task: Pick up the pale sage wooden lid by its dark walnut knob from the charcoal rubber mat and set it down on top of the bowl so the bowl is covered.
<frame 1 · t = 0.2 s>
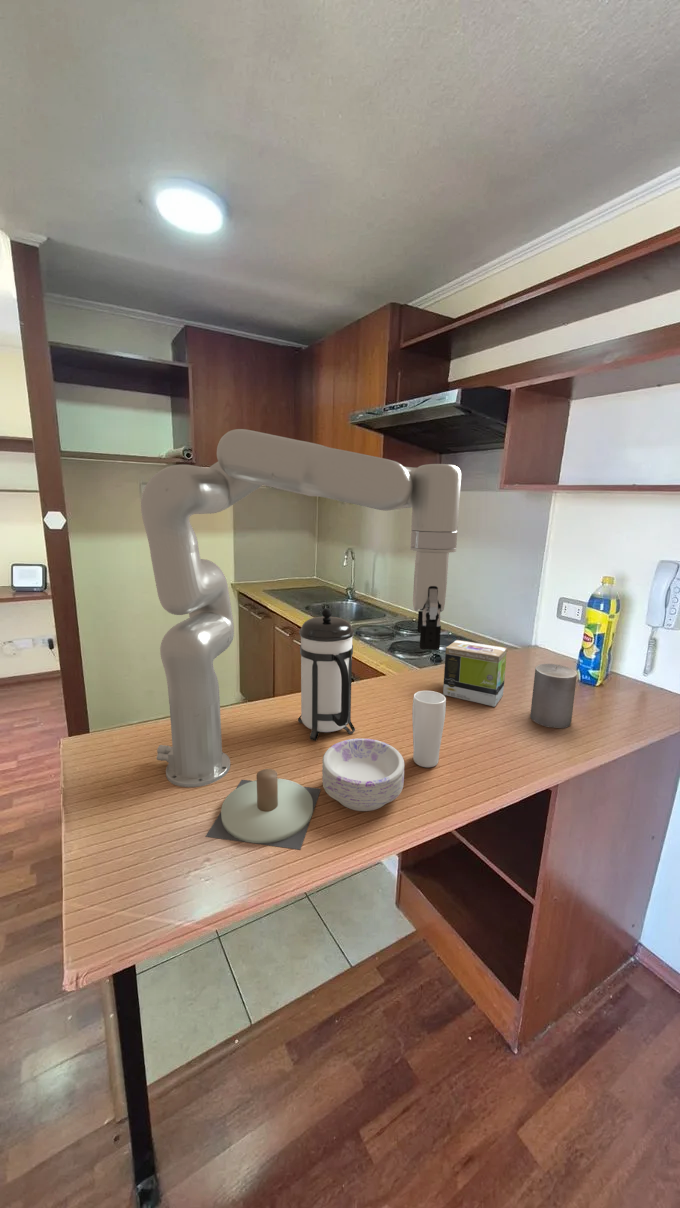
hand: (427, 640, 80), 31 cm above the counter, fingers open, 9 cm apart
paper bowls: (362, 796, 87), on the counter
tea box: (472, 696, 133), on the counter
coffee press: (329, 730, 112), on the counter
drinking glass: (425, 762, 98), on the counter
lid: (267, 810, 82), resting on mat
mat: (267, 812, 82), on the counter
pillar candle: (549, 720, 118), on the counter
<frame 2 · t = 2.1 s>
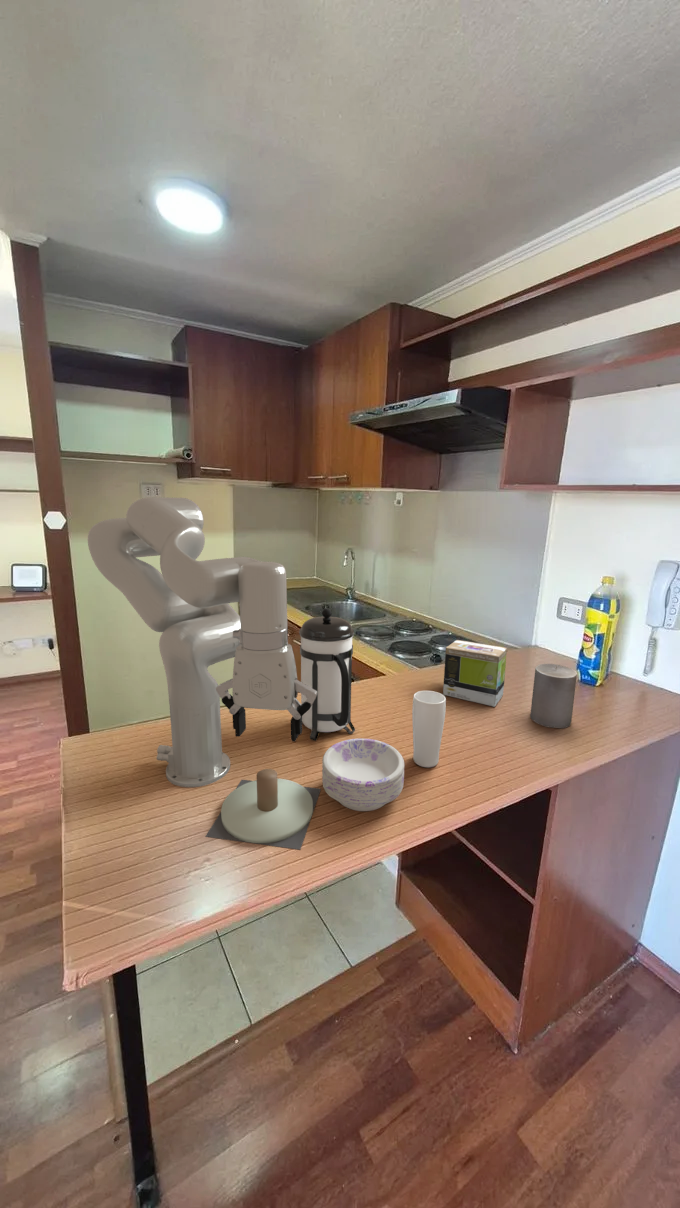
hand: (267, 735, 78), 15 cm above the counter, fingers open, 9 cm apart
nothing on the counter moved.
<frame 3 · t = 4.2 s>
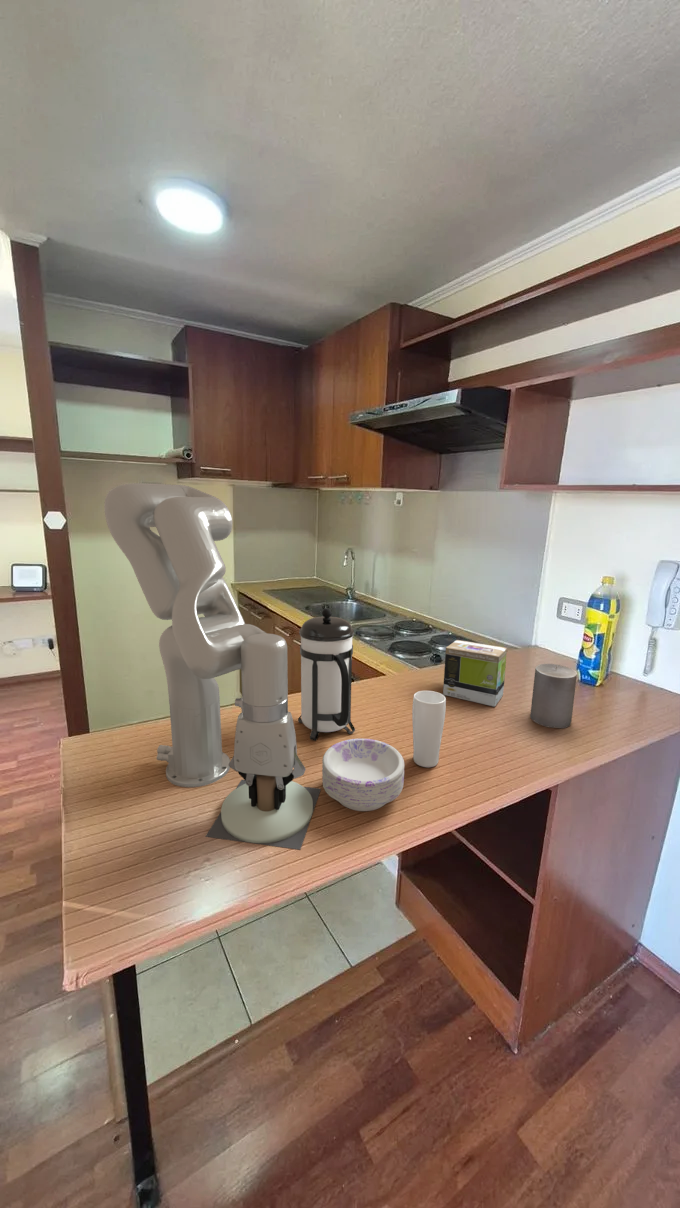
hand: (267, 802, 81), 2 cm above the counter, fingers closed on lid, 3 cm apart
lid: (267, 810, 82), resting on mat, touching gripper
everything else where it was.
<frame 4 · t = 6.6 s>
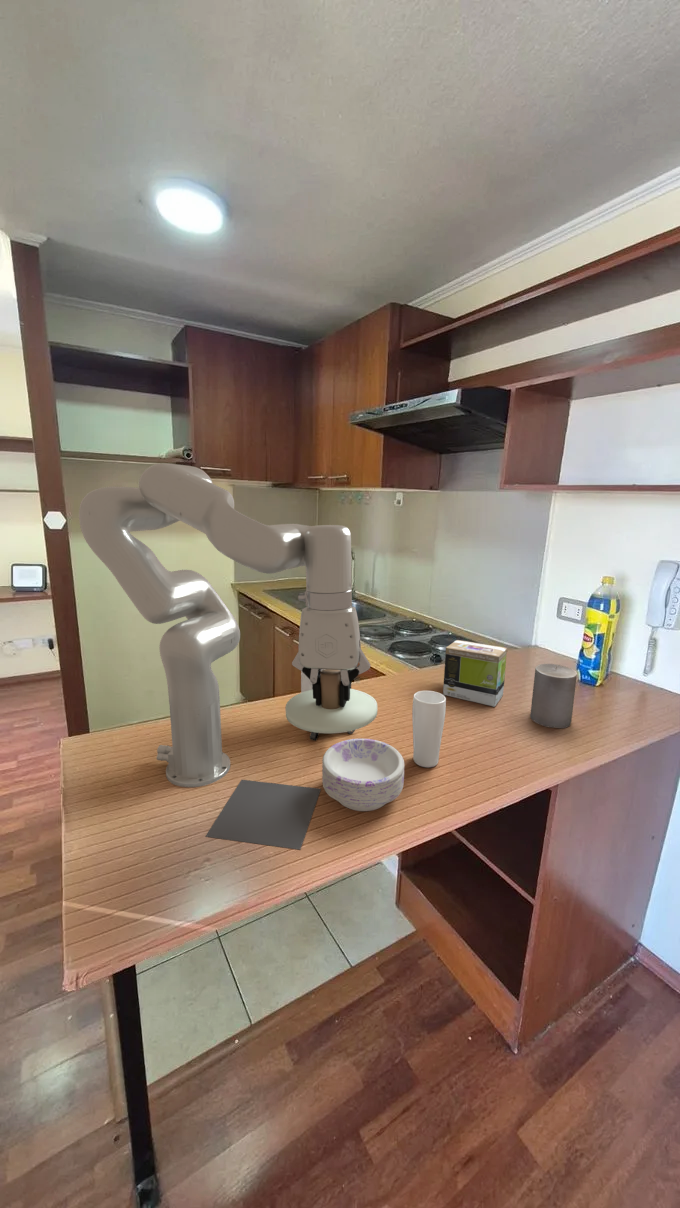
hand: (331, 702, 80), 20 cm above the counter, fingers closed on lid, 3 cm apart
lid: (331, 711, 80), point 18 cm above the counter, touching gripper
everything else where it was.
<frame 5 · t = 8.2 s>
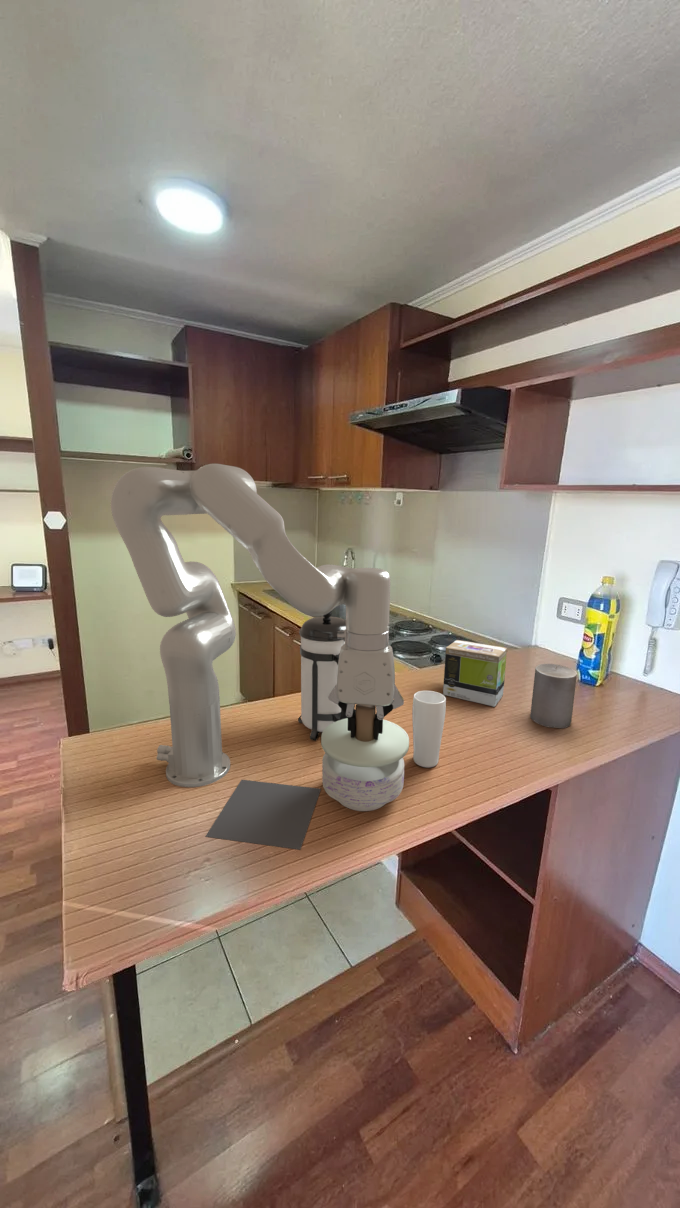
hand: (365, 734, 84), 13 cm above the counter, fingers closed on lid, 3 cm apart
lid: (364, 742, 84), point 11 cm above the counter, touching gripper
everything else where it was.
when the fingers open (11 cm above the counter, at t = 9.2 s): lid drops 2 cm, resting on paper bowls.
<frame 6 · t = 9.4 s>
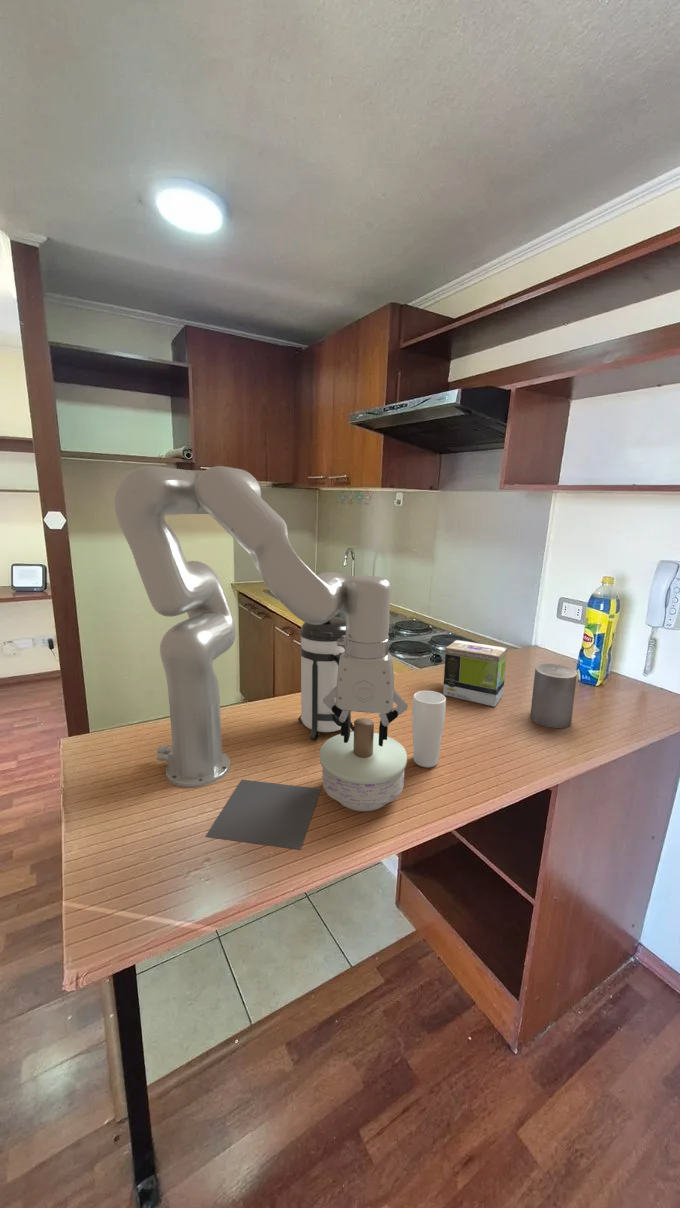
hand: (363, 740, 84), 12 cm above the counter, fingers open, 5 cm apart
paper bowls: (362, 796, 87), on the counter, touching lid
lid: (363, 758, 85), point 8 cm above the counter, touching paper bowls
everything else where it was.
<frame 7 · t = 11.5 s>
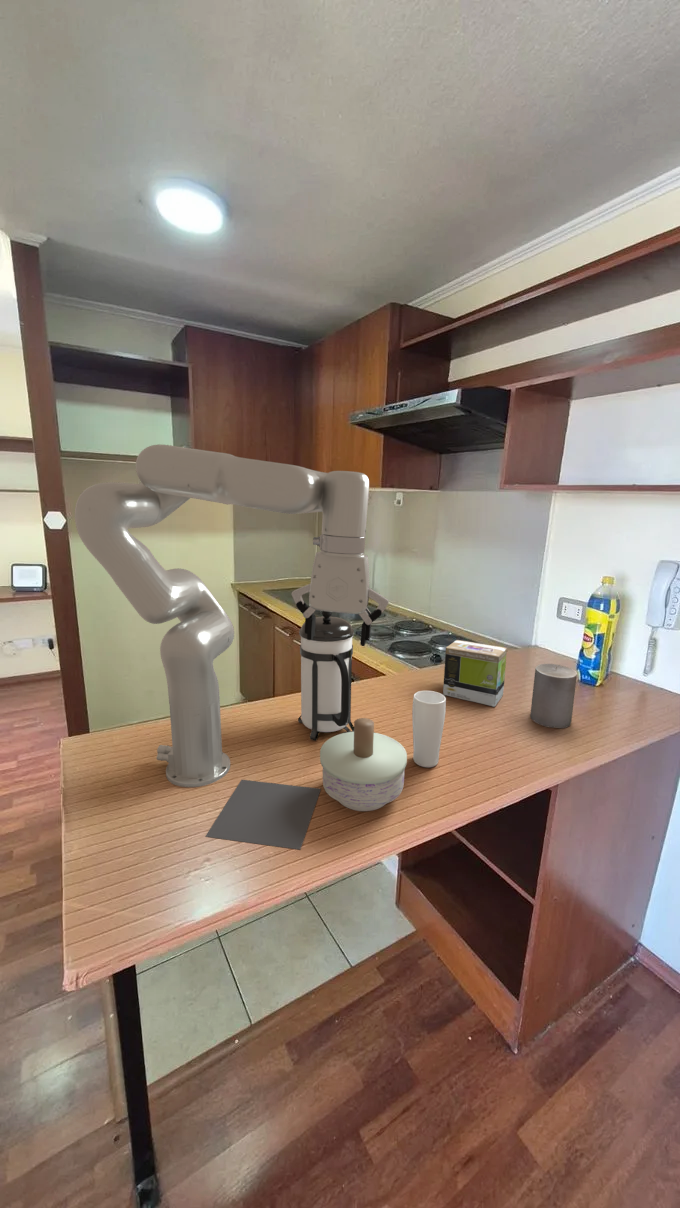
hand: (336, 640, 83), 30 cm above the counter, fingers open, 9 cm apart
nothing on the counter moved.
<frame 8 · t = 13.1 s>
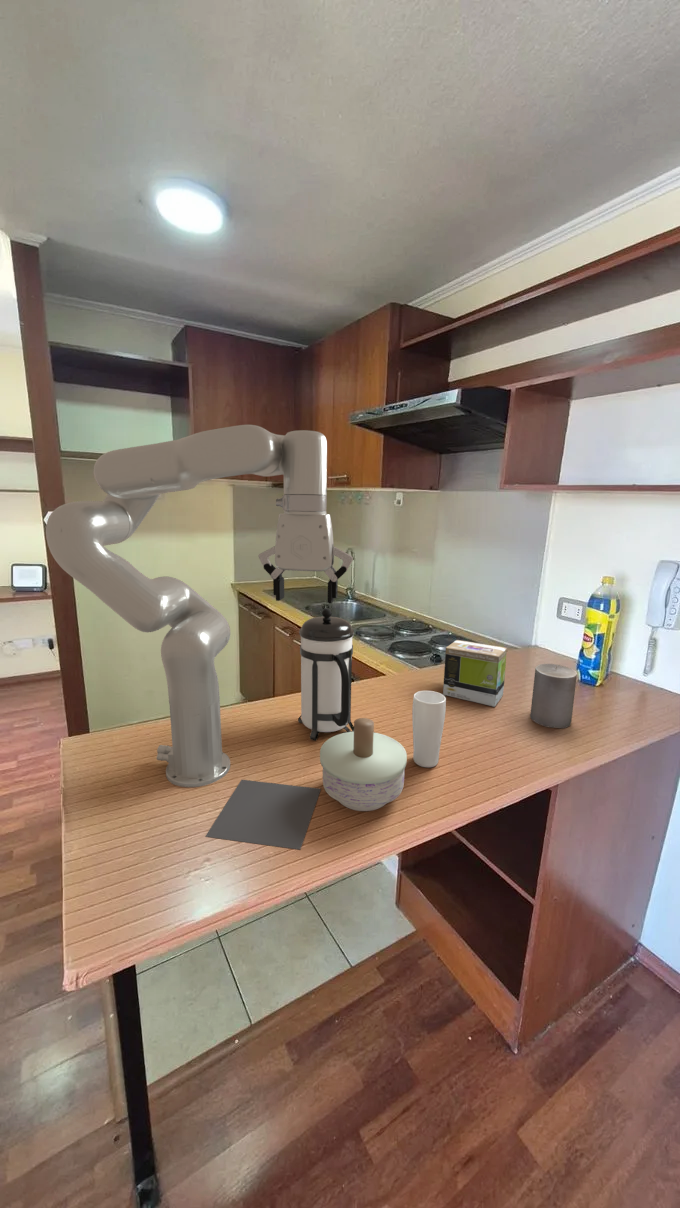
hand: (305, 600, 85), 36 cm above the counter, fingers open, 9 cm apart
nothing on the counter moved.
at the end: lid 0.1 cm from the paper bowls (horizontally); lid point 7.8 cm above the counter; lid tilted 0° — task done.
